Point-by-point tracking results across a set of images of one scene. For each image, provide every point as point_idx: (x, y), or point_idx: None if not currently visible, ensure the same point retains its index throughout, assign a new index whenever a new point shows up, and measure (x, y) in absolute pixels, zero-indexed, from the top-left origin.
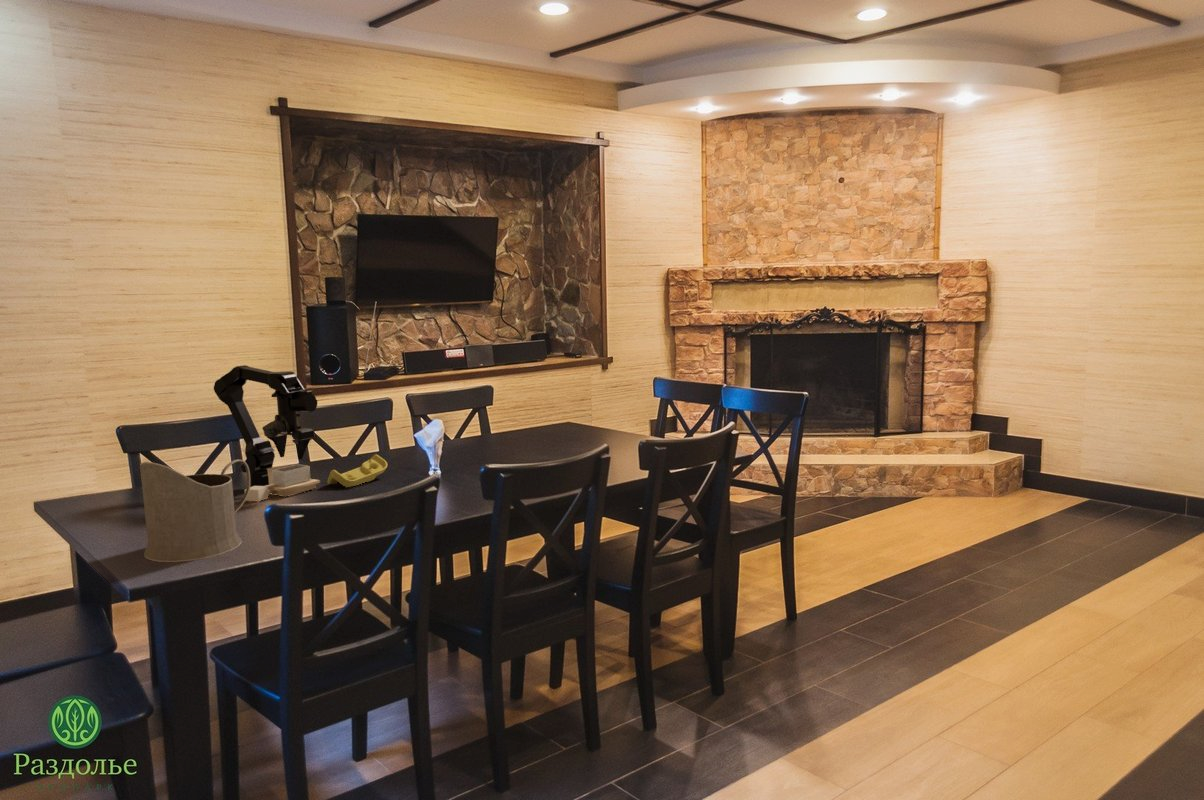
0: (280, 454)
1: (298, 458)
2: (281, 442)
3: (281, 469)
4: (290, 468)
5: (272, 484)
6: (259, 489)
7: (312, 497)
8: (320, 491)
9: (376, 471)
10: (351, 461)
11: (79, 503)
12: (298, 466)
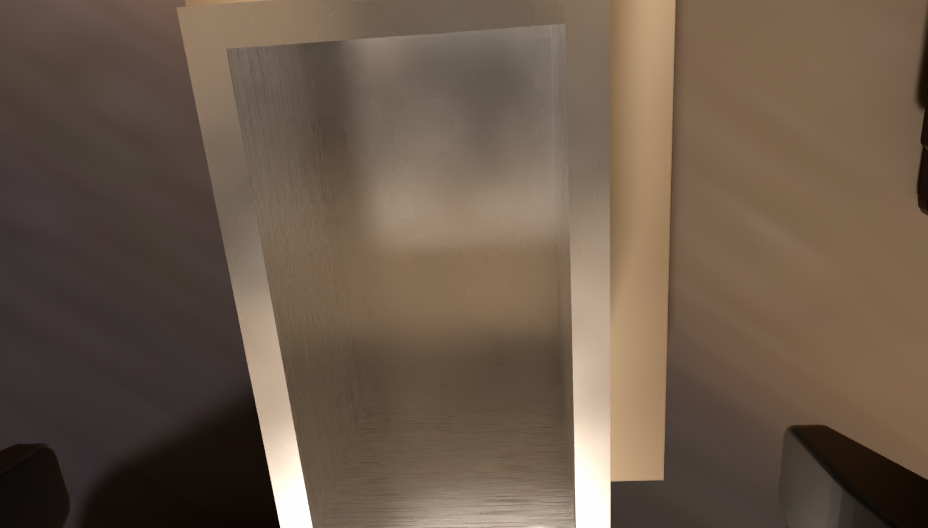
0: (820, 458)
1: (6, 454)
2: None
3: (567, 195)
4: (571, 381)
5: (642, 10)
6: None
7: (21, 160)
8: (218, 367)
9: None
10: None
11: None
12: (549, 517)
